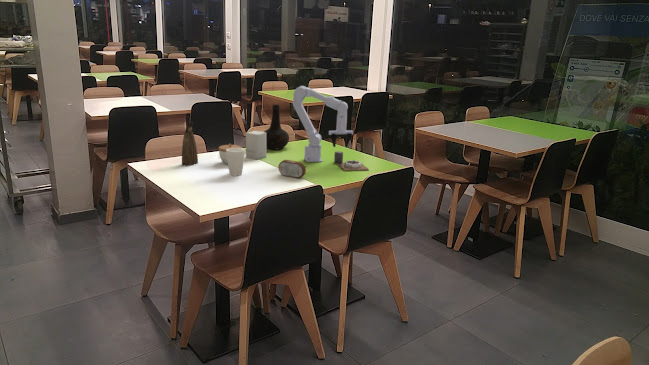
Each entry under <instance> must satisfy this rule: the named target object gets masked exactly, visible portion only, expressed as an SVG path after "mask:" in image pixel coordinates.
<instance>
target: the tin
mask: <svg viewBox="0 0 649 365" xmlns="http://www.w3.org/2000/svg"><path fill="white" fill-rule="evenodd" d="M278 172H279V173H280V175H283V177H284V176H285V177H289V178H295V179H300V178H302V177H305V175H306V173H307V169H306V166H305V165H304V164H303V162H300V161H295V160H290V159H283V160H282V161H280V163H278Z"/></svg>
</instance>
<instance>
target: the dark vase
mask: <svg viewBox="0 0 649 365" xmlns="http://www.w3.org/2000/svg"><path fill="white" fill-rule="evenodd" d="M271 109H272V114H271V121H270V125H269V127H268V129H266V130H264V131H263V132H266V149H270V150H282V149H284V148H285V147H286V146H287V145H288V144H289V142H290V135H289V133H288V132H287V131H286V130H285V129H282V126H281V118H280V117H281V116H280V115H281V114H280V112H281V111H280V110H281V109H282V107H281V106H280V104H272V107H271Z"/></svg>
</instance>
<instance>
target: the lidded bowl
mask: <svg viewBox="0 0 649 365" xmlns="http://www.w3.org/2000/svg"><path fill="white" fill-rule="evenodd" d="M228 148H243V147H242V146H241V145H237V144H232V143H229V144H223V145H220V146H219V147H218V153H219V158H220V160H221V161H222V162H223V164H224V165H228V160H227V155H226V149H228Z"/></svg>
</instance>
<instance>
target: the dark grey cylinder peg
mask: <svg viewBox="0 0 649 365" xmlns="http://www.w3.org/2000/svg"><path fill="white" fill-rule="evenodd" d="M333 158H334V159H333V163H334V164H338V163H344V151H335V152H334V157H333Z"/></svg>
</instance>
